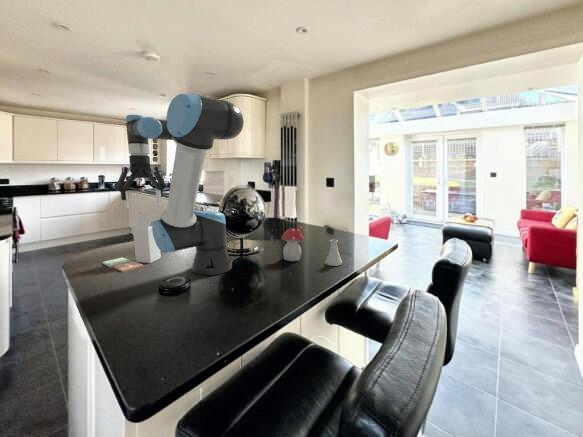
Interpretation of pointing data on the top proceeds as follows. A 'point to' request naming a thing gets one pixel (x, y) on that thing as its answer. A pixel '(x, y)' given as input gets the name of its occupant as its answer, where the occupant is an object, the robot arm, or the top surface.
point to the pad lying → (128, 266)
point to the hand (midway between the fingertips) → (143, 206)
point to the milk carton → (145, 241)
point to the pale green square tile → (116, 262)
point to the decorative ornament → (292, 244)
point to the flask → (333, 255)
